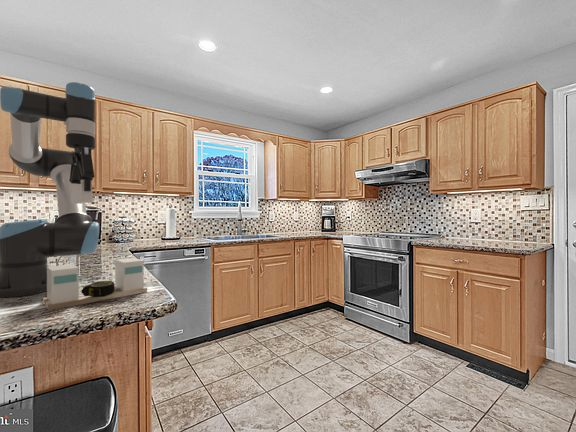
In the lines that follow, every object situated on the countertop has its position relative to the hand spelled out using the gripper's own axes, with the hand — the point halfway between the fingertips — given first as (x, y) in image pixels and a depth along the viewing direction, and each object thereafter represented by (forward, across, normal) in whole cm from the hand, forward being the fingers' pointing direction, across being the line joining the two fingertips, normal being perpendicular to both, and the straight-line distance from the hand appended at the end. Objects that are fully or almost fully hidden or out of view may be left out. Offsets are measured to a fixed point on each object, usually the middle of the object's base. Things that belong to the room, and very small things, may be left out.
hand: (81, 203), depth 91 cm
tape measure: (+28, +10, +2) cm, 30 cm away
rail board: (+29, +6, +3) cm, 30 cm away
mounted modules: (+28, +7, +3) cm, 28 cm away
